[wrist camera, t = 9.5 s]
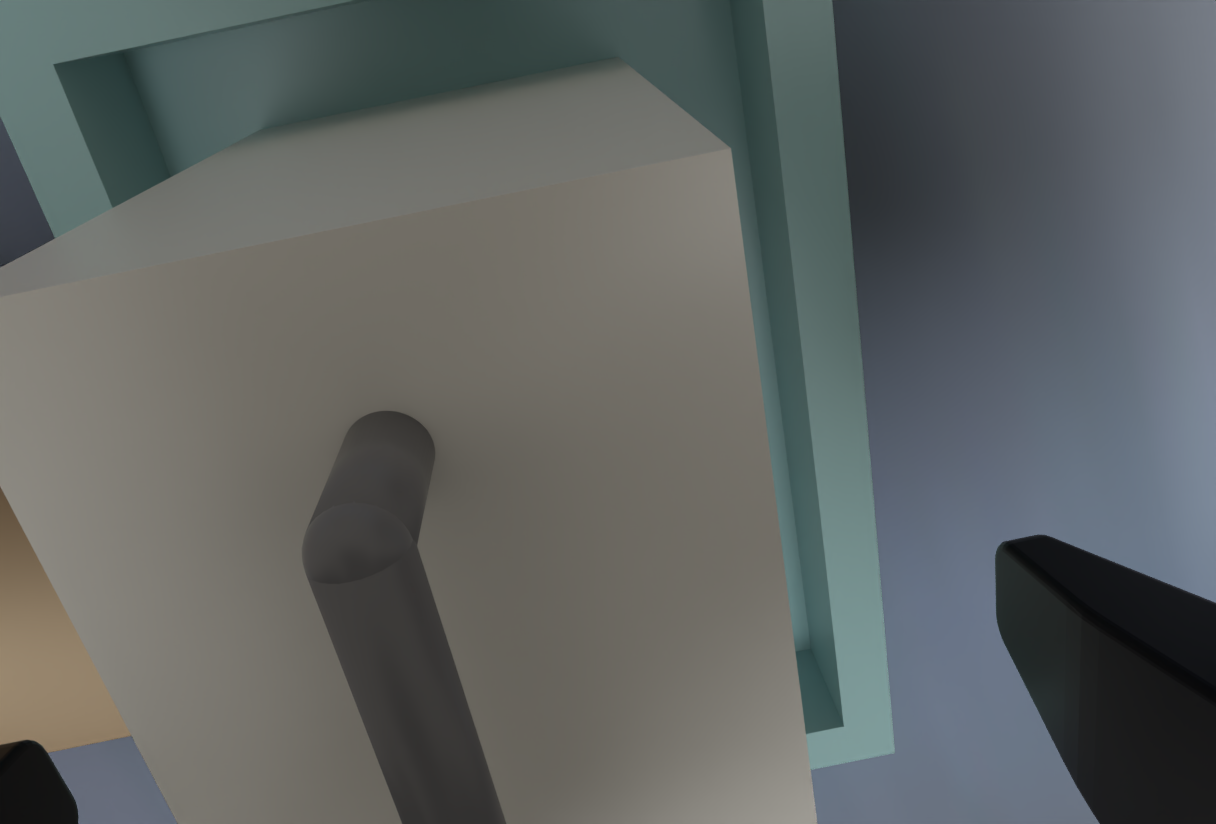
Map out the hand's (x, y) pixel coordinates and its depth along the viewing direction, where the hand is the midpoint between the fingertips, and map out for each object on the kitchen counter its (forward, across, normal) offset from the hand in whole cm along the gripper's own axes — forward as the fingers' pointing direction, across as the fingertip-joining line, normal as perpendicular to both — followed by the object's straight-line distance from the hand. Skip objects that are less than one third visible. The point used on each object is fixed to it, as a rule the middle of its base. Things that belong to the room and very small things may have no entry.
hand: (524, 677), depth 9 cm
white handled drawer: (+7, 0, 0) cm, 7 cm away
